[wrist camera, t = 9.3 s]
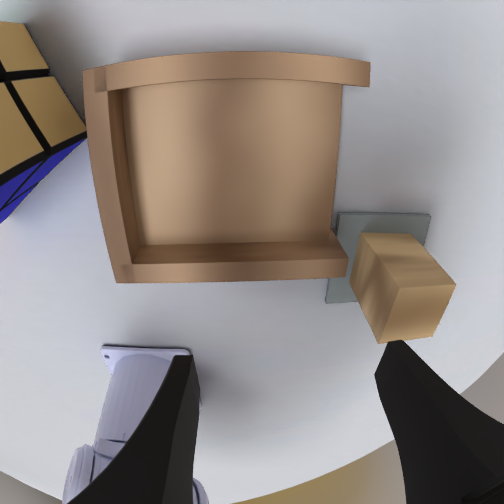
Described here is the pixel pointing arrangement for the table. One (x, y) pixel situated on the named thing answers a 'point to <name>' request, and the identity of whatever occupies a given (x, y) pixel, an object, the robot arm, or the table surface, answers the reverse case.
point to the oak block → (399, 286)
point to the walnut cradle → (219, 164)
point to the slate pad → (369, 223)
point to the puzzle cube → (30, 118)
